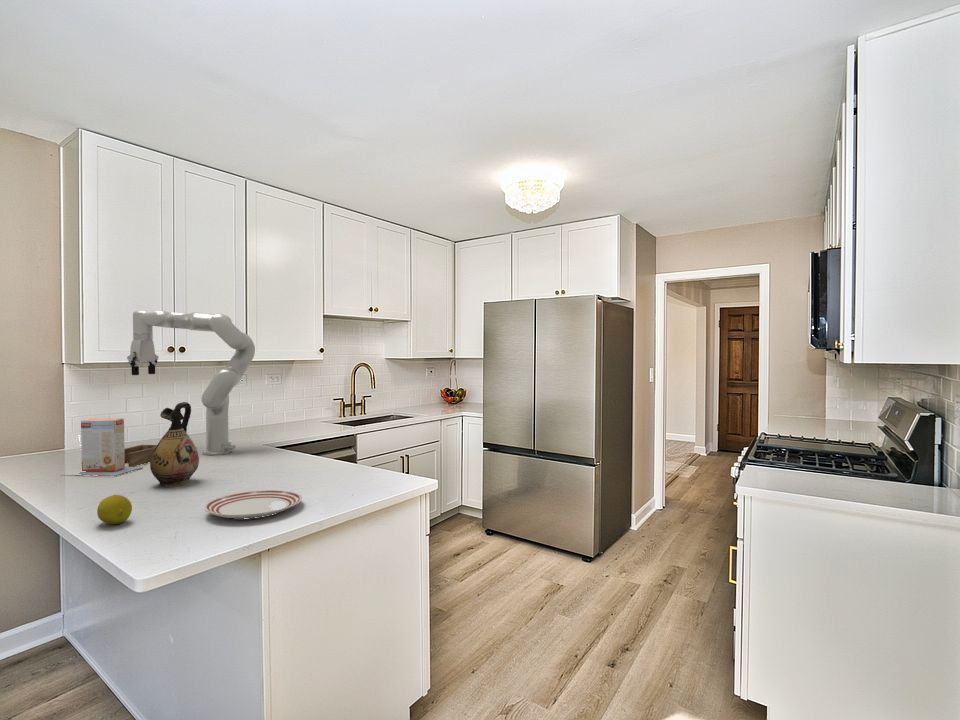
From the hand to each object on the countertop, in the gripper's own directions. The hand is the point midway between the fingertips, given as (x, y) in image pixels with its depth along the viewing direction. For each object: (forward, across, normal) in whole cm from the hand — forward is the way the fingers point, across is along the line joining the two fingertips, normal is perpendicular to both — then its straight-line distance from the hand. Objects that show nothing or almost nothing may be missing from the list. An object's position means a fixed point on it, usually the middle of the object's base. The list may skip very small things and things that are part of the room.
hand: (143, 374), depth 233 cm
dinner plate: (+39, +68, +95) cm, 123 cm away
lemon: (+38, +83, +62) cm, 111 cm away
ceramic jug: (+38, +41, +48) cm, 74 cm away
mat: (+38, +29, +5) cm, 48 cm away
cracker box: (+38, +28, +6) cm, 48 cm away
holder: (+38, +12, +6) cm, 40 cm away
